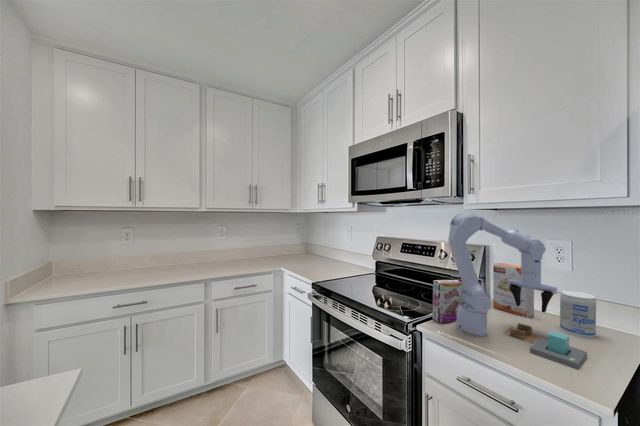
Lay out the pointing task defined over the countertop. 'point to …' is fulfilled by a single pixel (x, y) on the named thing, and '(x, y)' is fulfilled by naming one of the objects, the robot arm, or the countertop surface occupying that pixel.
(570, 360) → the port
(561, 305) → the supplement tub
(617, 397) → the countertop surface
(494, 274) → the cracker box
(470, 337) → the countertop surface
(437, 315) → the candy bar box
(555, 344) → the plug
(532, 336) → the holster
